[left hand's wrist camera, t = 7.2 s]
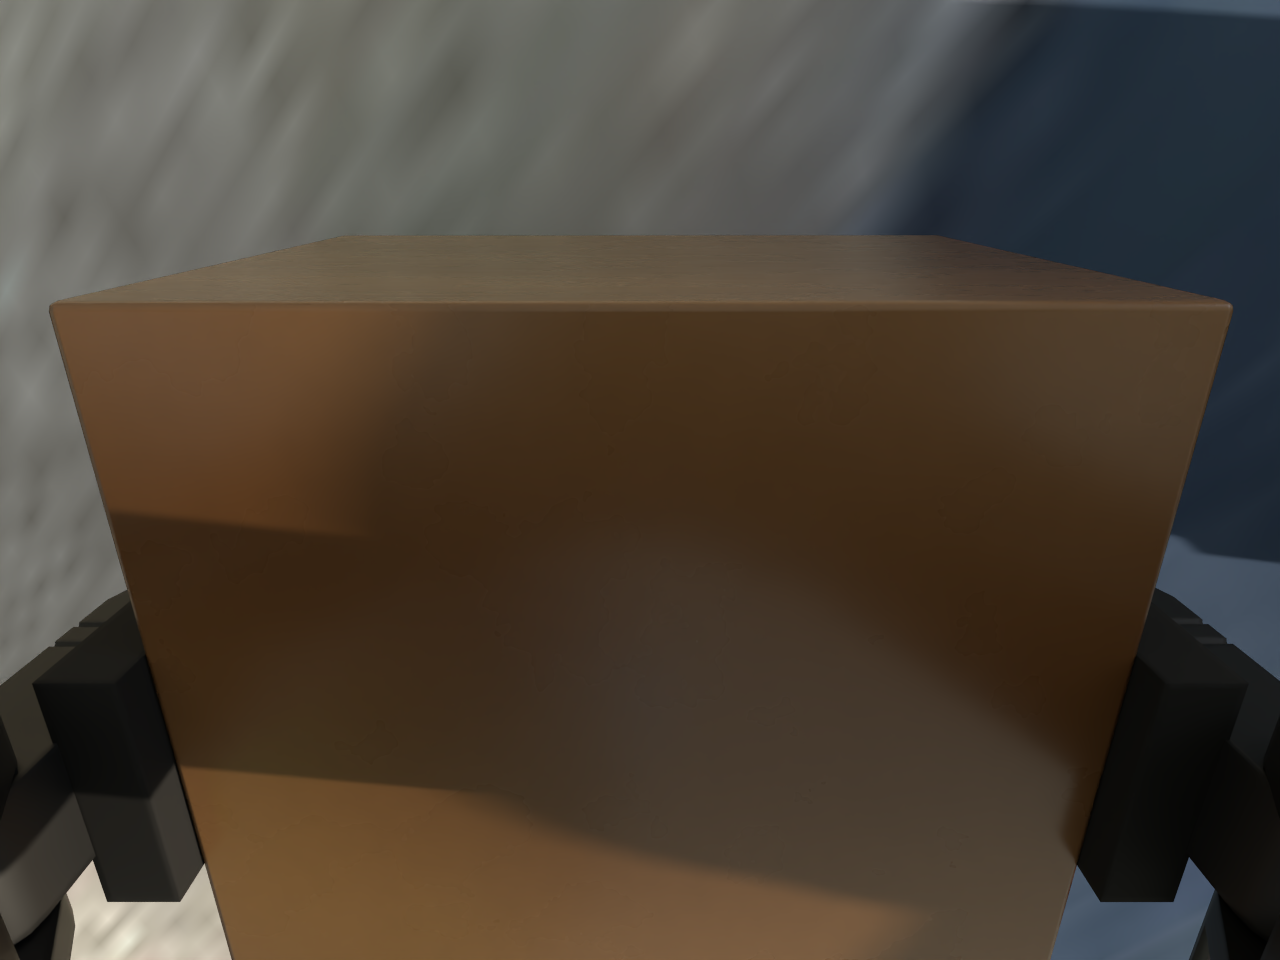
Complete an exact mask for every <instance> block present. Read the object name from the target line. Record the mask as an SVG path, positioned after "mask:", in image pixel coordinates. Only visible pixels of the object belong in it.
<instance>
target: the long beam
mask: <svg viewBox="0 0 1280 960" xmlns="http://www.w3.org/2000/svg"><path fill="white" fill-rule="evenodd" d="M49 313H50V317H51V320H52V324H53V327H54V331H55V335H56V338H57V342H58V345H59V349H60V352H61V356H62V359H63V363H64V366H65V370H66V374H67V377H68V381H69V384H70V388H71V391H72V395H73V398H74V402H75V405H76V409H77V412H78V416H79V420H80V423H81V427H82V430H83V434H84V437H85V441H86V444H87V448H88V451H89V455H90V459H91V462H92V466H93V469H94V473H95V476H96V480H97V483H98V487H99V490H100V494H101V498H102V501H103V505H104V508H105V512H106V515H107V519H108V522H109V526H110V529H111V533H112V536H113V540H114V544H115V547H116V551H117V554H118V558H119V561H120V565H121V568H122V572H123V575H124V579H125V583H126V586H127V590H128V593H129V597H130V600H131V604H132V607H133V611H134V614H135V618H136V622H137V625H138V629H139V632H140V636H141V639H142V643H143V646H144V650H145V653H146V657H147V660H148V664H149V668H150V671H151V675H152V678H153V682H154V685H155V689H156V692H157V696H158V699H159V703H160V707H161V710H162V714H163V717H164V721H165V724H166V728H167V731H168V735H169V738H170V742H171V746H172V749H173V753H174V756H175V760H176V763H177V767H178V770H179V774H180V777H181V781H182V785H183V788H184V792H185V795H186V799H187V802H188V806H189V809H190V813H191V816H192V820H193V823H194V827H195V831H196V834H197V838H198V841H199V845H200V848H201V852H202V855H203V859H204V862H205V866H206V870H207V873H208V877H209V880H210V884H211V887H212V891H213V894H214V898H215V901H216V905H217V909H218V912H219V916H220V919H221V923H222V926H223V930H224V933H225V937H226V940H227V944H228V947H229V951H230V955H231V958H232V960H1050V958H1051V955H1052V951H1053V948H1054V944H1055V941H1056V937H1057V933H1058V930H1059V926H1060V923H1061V919H1062V916H1063V912H1064V909H1065V905H1066V902H1067V898H1068V895H1069V891H1070V887H1071V884H1072V880H1073V877H1074V873H1075V870H1076V866H1077V863H1078V859H1079V856H1080V852H1081V848H1082V845H1083V841H1084V838H1085V834H1086V831H1087V827H1088V824H1089V820H1090V817H1091V813H1092V809H1093V806H1094V802H1095V799H1096V795H1097V792H1098V788H1099V785H1100V781H1101V778H1102V774H1103V771H1104V767H1105V763H1106V760H1107V756H1108V753H1109V749H1110V746H1111V742H1112V739H1113V735H1114V732H1115V728H1116V724H1117V721H1118V717H1119V714H1120V710H1121V707H1122V703H1123V700H1124V696H1125V693H1126V689H1127V685H1128V682H1129V678H1130V675H1131V671H1132V668H1133V664H1134V661H1135V657H1136V654H1137V650H1138V647H1139V643H1140V639H1141V636H1142V632H1143V629H1144V625H1145V622H1146V618H1147V615H1148V611H1149V608H1150V604H1151V600H1152V597H1153V593H1154V590H1155V586H1156V583H1157V579H1158V576H1159V572H1160V569H1161V565H1162V561H1163V558H1164V554H1165V551H1166V547H1167V544H1168V540H1169V537H1170V533H1171V530H1172V526H1173V522H1174V519H1175V515H1176V512H1177V508H1178V505H1179V501H1180V498H1181V494H1182V491H1183V487H1184V484H1185V480H1186V476H1187V473H1188V469H1189V466H1190V462H1191V459H1192V455H1193V452H1194V448H1195V445H1196V441H1197V437H1198V434H1199V430H1200V427H1201V423H1202V420H1203V416H1204V413H1205V409H1206V406H1207V402H1208V398H1209V395H1210V391H1211V388H1212V384H1213V381H1214V377H1215V374H1216V370H1217V367H1218V363H1219V360H1220V356H1221V352H1222V349H1223V345H1224V342H1225V338H1226V335H1227V331H1228V328H1229V324H1230V321H1231V317H1232V313H1233V305H1232V304H1230V303H1229V302H1227V301H1225V300H1221V299H1216V298H1212V297H1208V296H1203V295H1199V294H1194V293H1190V292H1185V291H1181V290H1177V289H1172V288H1168V287H1163V286H1159V285H1154V284H1150V283H1146V282H1141V281H1137V280H1132V279H1128V278H1124V277H1119V276H1115V275H1110V274H1106V273H1101V272H1097V271H1093V270H1088V269H1084V268H1079V267H1075V266H1070V265H1066V264H1062V263H1057V262H1053V261H1048V260H1044V259H1040V258H1035V257H1031V256H1026V255H1022V254H1017V253H1013V252H1009V251H1004V250H1000V249H995V248H991V247H987V246H982V245H978V244H973V243H969V242H964V241H960V240H956V239H951V238H947V237H942V236H938V235H689V236H340V237H336V238H332V239H327V240H323V241H318V242H314V243H310V244H305V245H301V246H296V247H292V248H288V249H283V250H279V251H274V252H270V253H266V254H261V255H257V256H252V257H248V258H244V259H239V260H235V261H231V262H226V263H222V264H217V265H213V266H209V267H204V268H200V269H195V270H191V271H187V272H182V273H178V274H173V275H169V276H165V277H160V278H156V279H151V280H147V281H143V282H138V283H134V284H129V285H125V286H121V287H116V288H112V289H107V290H103V291H99V292H94V293H90V294H86V295H81V296H77V297H72V298H68V299H64V300H59V301H57V302H54V303H52V304H51V305H50V308H49Z"/></svg>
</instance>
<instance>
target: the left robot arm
mask: <svg viewBox="0 0 1280 960" xmlns="http://www.w3.org/2000/svg"><path fill="white" fill-rule="evenodd" d="M1189 857H1190V859H1191V860H1192V861H1193V862H1194V864H1195V865H1196V866H1197V867H1198V869H1199V870H1200V871H1201V872H1202V874H1203V875H1204V876H1205V877H1206V879H1207V880H1208V881H1209V882H1210V884H1211V885H1212V886H1213V887H1214V888H1215V891H1214V893H1213V896H1212V899H1211V902H1210V904H1209V907H1208V910H1207V912H1206V915H1205V918H1204V920H1203V923H1202V926H1201V929H1200V931H1199V934H1198V937H1197V939H1196V942H1195V945H1194V947H1193V950H1192V953H1191V956H1190V958H1189V960H1280V681H1279V680H1278V679H1276V678H1275V677H1274V676H1273V675H1271V674H1270V673H1269V672H1268V671H1266V670H1265V669H1264V668H1263V667H1261V666H1260V665H1259V664H1258V663H1256V662H1255V661H1254V660H1253V659H1251V658H1250V657H1249V656H1247V655H1246V654H1245V653H1244V652H1242V651H1241V650H1240V649H1239V648H1237V647H1236V646H1235V645H1234V644H1227V642H1226V638H1225V637H1224V636H1222V635H1221V634H1220V633H1219V632H1217V631H1216V630H1215V629H1214V628H1212V627H1211V626H1210V625H1208V624H1203V623H1202V619H1201V618H1200V617H1198V616H1197V615H1196V614H1195V613H1193V612H1192V611H1191V610H1190V609H1188V608H1187V607H1186V606H1185V605H1183V604H1182V603H1181V602H1180V601H1178V600H1177V599H1176V598H1174V597H1173V596H1171V595H1169V594H1167V593H1165V592H1163V591H1161V590H1159V589H1157V588H1155V590H1154V593H1153V597H1152V600H1151V604H1150V608H1149V611H1148V615H1147V618H1146V622H1145V625H1144V629H1143V632H1142V636H1141V639H1140V643H1139V647H1138V650H1137V654H1136V657H1135V661H1134V664H1133V668H1132V671H1131V675H1130V678H1129V682H1128V685H1127V689H1126V693H1125V696H1124V700H1123V703H1122V707H1121V710H1120V714H1119V717H1118V721H1117V724H1116V728H1115V732H1114V735H1113V739H1112V742H1111V746H1110V749H1109V753H1108V756H1107V760H1106V763H1105V767H1104V771H1103V774H1102V778H1101V781H1100V785H1099V788H1098V792H1097V795H1096V799H1095V802H1094V806H1093V809H1092V813H1091V817H1090V820H1089V824H1088V827H1087V831H1086V834H1085V838H1084V841H1083V845H1082V848H1081V852H1080V856H1079V859H1078V863H1077V865H1078V867H1079V869H1080V870H1081V872H1082V873H1083V875H1084V877H1085V878H1086V880H1087V881H1088V883H1089V884H1090V886H1091V888H1092V889H1093V891H1094V892H1095V894H1096V896H1097V897H1098V899H1099V900H1100V902H1174V899H1175V896H1176V893H1177V890H1178V887H1179V884H1180V881H1181V878H1182V876H1183V873H1184V870H1185V867H1186V864H1187V861H1188V858H1189ZM92 860H93V862H94V865H95V868H96V870H97V873H98V876H99V879H100V882H101V885H102V888H103V891H104V894H105V897H106V899H107V902H180V901H181V900H182V898H183V896H184V895H185V893H186V892H187V890H188V889H189V887H190V885H191V884H192V882H193V881H194V879H195V877H196V876H197V874H198V873H199V871H200V870H201V868H202V866H203V865H204V863H205V862H204V859H203V855H202V852H201V848H200V845H199V841H198V838H197V834H196V831H195V827H194V823H193V820H192V816H191V813H190V809H189V806H188V802H187V799H186V795H185V792H184V788H183V785H182V781H181V777H180V774H179V770H178V767H177V763H176V760H175V756H174V753H173V749H172V746H171V742H170V738H169V735H168V731H167V728H166V724H165V721H164V717H163V714H162V710H161V707H160V703H159V699H158V696H157V692H156V689H155V685H154V682H153V678H152V675H151V671H150V668H149V664H148V660H147V657H146V653H145V650H144V646H143V643H142V639H141V636H140V632H139V629H138V625H137V622H136V618H135V614H134V611H133V607H132V604H131V600H130V597H129V593H128V590H126V591H124V592H122V593H120V594H118V595H116V596H114V597H112V598H110V599H108V600H107V601H105V602H104V603H103V604H102V605H100V606H99V607H98V608H97V609H95V610H94V611H93V612H92V613H90V614H89V615H88V616H87V617H85V618H84V619H83V620H82V621H80V622H79V627H73V628H72V629H70V630H69V631H68V632H67V633H65V634H64V635H63V636H62V637H61V638H59V639H58V640H57V641H56V642H55V647H48V648H47V649H46V650H44V651H43V652H42V653H41V654H39V655H38V656H37V657H36V658H34V659H33V660H32V661H31V662H29V663H28V664H27V665H26V666H24V667H23V668H22V669H21V670H19V671H18V672H17V673H16V674H14V675H13V676H12V677H11V678H9V679H8V680H7V681H6V682H4V683H3V684H2V685H1V686H0V960H70V957H71V951H72V944H73V937H74V930H75V922H74V916H73V910H72V907H71V904H70V902H69V899H68V896H67V894H66V893H67V891H68V890H69V889H70V888H71V886H72V885H73V884H74V883H75V881H76V880H77V879H78V877H79V876H80V875H81V874H82V872H83V871H84V870H85V869H86V867H87V866H88V865H89V864H90V862H91V861H92Z"/></svg>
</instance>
